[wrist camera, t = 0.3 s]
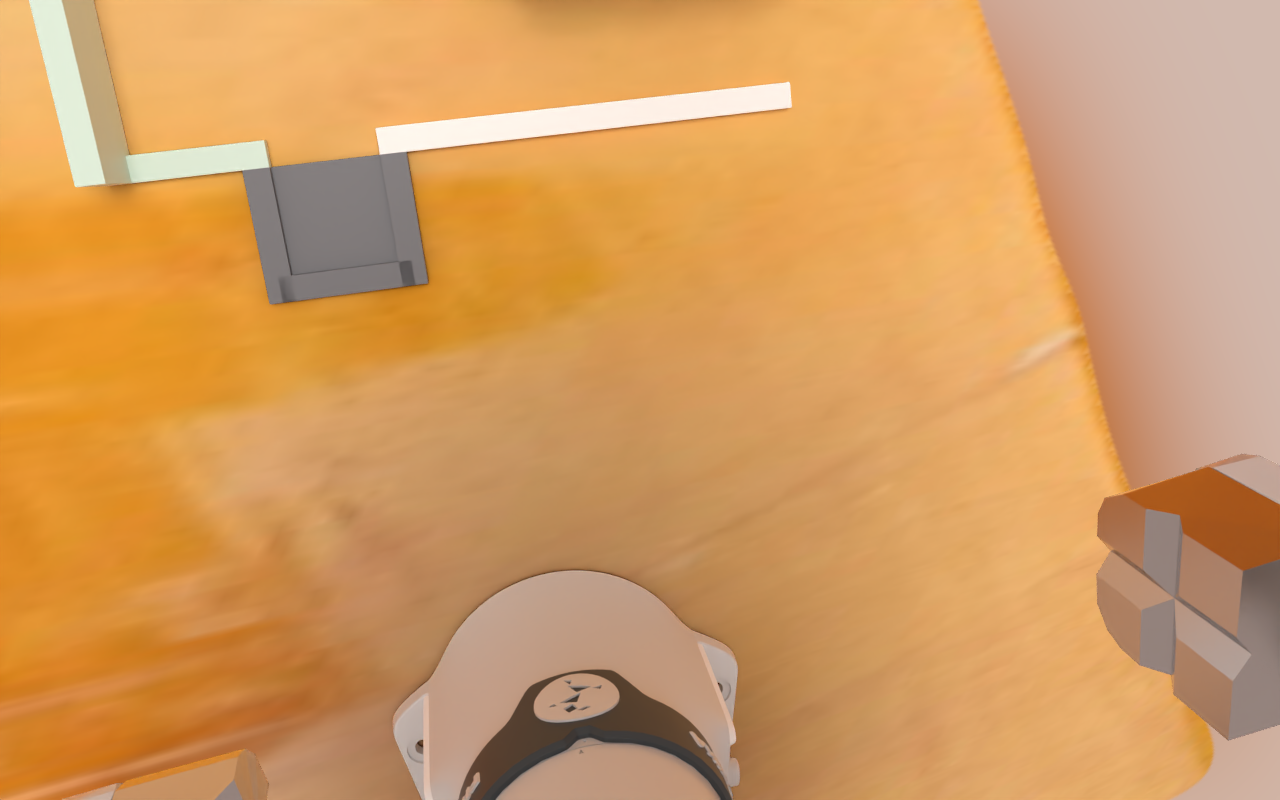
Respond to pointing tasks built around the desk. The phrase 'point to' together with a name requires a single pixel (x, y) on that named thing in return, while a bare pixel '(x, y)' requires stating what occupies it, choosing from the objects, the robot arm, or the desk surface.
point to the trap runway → (320, 164)
